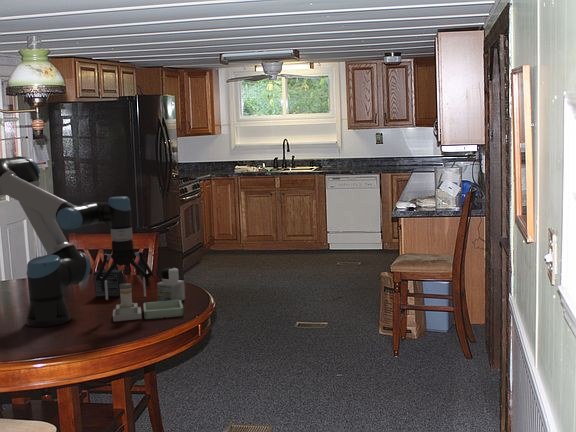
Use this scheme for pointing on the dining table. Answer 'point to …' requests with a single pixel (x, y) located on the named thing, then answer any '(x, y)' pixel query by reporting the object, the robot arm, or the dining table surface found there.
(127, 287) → the fuse
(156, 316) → the tray
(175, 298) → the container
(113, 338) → the dining table surface
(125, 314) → the holder
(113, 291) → the small box
